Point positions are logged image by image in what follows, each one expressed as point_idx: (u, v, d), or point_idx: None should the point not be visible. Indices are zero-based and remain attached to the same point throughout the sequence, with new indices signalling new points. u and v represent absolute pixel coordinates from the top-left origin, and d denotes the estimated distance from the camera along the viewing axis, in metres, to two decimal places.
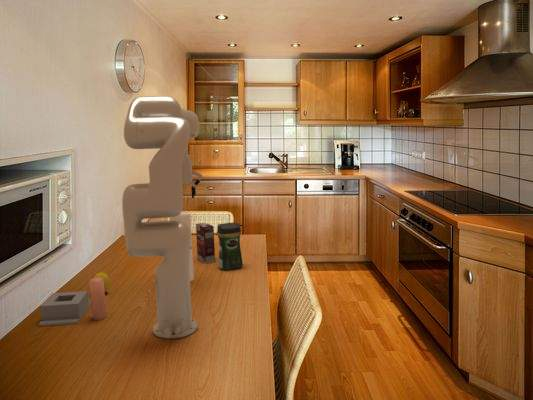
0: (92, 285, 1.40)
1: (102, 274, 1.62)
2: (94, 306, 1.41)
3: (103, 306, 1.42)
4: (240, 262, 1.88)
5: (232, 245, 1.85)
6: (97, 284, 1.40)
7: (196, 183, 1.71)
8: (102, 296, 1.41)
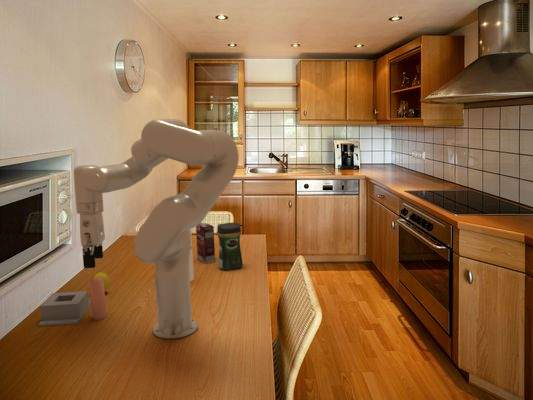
0: (92, 285, 1.40)
1: (102, 274, 1.62)
2: (94, 306, 1.41)
3: (103, 306, 1.42)
4: (240, 262, 1.88)
5: (232, 245, 1.85)
6: (97, 284, 1.40)
7: None
8: (102, 296, 1.41)
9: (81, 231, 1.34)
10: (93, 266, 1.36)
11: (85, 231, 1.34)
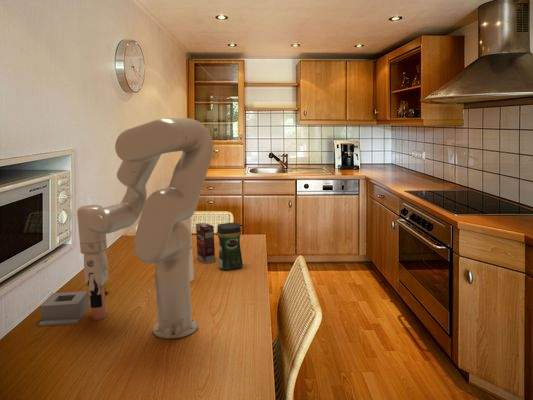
0: None
1: None
2: None
3: (103, 306, 1.42)
4: (240, 262, 1.88)
5: (232, 245, 1.85)
6: None
7: None
8: (102, 296, 1.41)
9: (85, 271, 1.36)
10: (100, 306, 1.40)
11: (89, 271, 1.36)
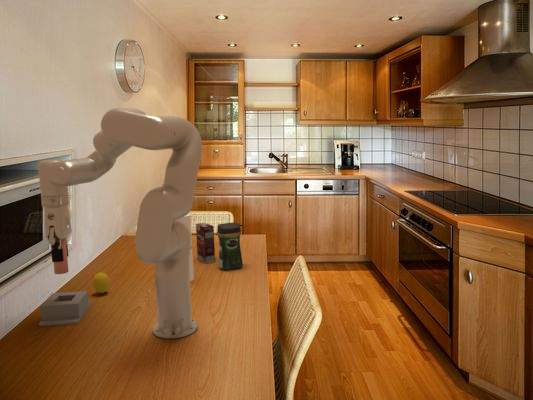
0: None
1: (102, 274, 1.62)
2: None
3: (65, 261, 1.42)
4: (240, 262, 1.88)
5: (232, 245, 1.85)
6: None
7: None
8: (64, 251, 1.42)
9: (46, 224, 1.36)
10: (61, 260, 1.41)
11: (50, 224, 1.36)
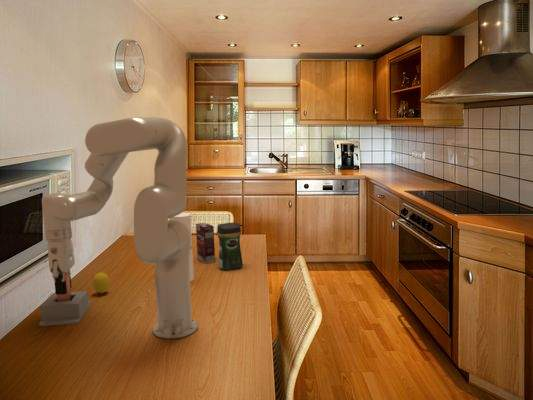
0: None
1: (102, 274, 1.62)
2: None
3: (68, 293, 1.44)
4: (240, 262, 1.88)
5: (232, 245, 1.85)
6: None
7: (68, 270, 1.48)
8: (67, 283, 1.44)
9: (49, 258, 1.38)
10: (64, 292, 1.42)
11: (53, 258, 1.38)
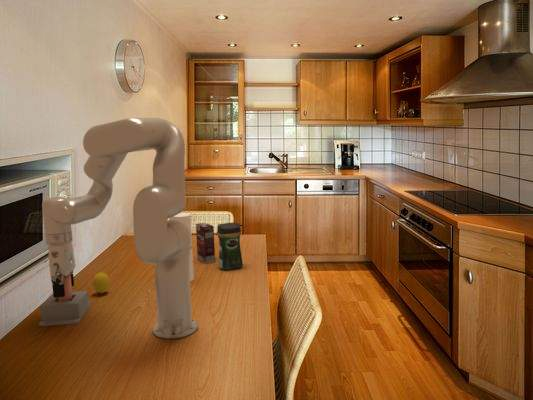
0: None
1: (102, 274, 1.62)
2: None
3: None
4: (240, 262, 1.88)
5: (232, 245, 1.85)
6: (64, 280, 1.42)
7: None
8: (69, 291, 1.44)
9: (50, 262, 1.38)
10: (63, 295, 1.40)
11: (54, 262, 1.38)
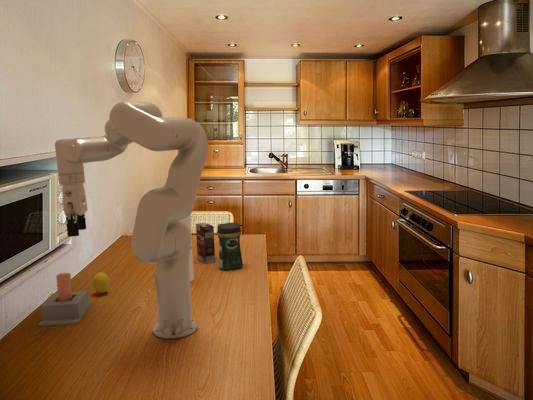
0: (59, 280, 1.42)
1: (102, 274, 1.62)
2: None
3: None
4: (240, 262, 1.88)
5: (232, 245, 1.85)
6: (64, 280, 1.42)
7: None
8: (69, 291, 1.44)
9: (64, 201, 1.40)
10: (77, 234, 1.42)
11: (68, 201, 1.40)
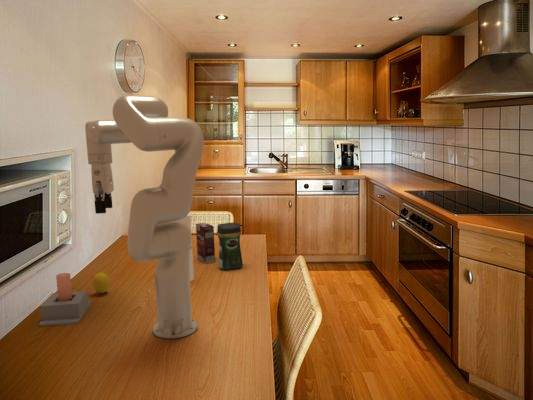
0: (59, 280, 1.42)
1: (102, 274, 1.62)
2: None
3: None
4: (240, 262, 1.88)
5: (232, 245, 1.85)
6: (64, 280, 1.42)
7: None
8: (69, 291, 1.44)
9: (93, 179, 1.48)
10: (104, 211, 1.50)
11: (96, 179, 1.48)
